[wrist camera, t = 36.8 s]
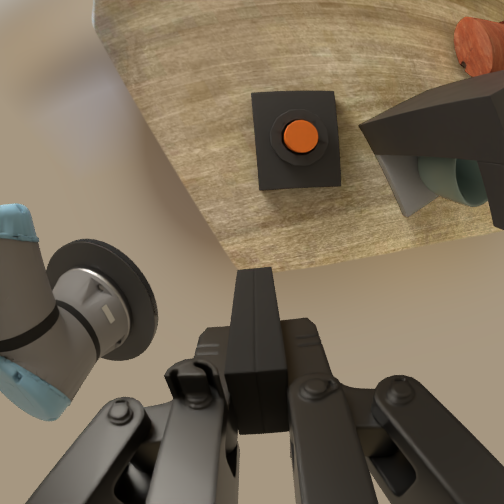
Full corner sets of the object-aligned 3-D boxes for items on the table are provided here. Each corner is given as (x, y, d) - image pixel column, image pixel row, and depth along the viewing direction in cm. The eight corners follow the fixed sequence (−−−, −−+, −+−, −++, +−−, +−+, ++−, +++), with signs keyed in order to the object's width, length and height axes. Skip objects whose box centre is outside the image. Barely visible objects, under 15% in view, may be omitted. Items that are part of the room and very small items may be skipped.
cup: (441, 132, 30) (486, 131, 20) (456, 183, 32) (501, 194, 22) (401, 148, 31) (445, 148, 22) (419, 201, 33) (462, 217, 24)
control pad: (259, 188, 35) (259, 192, 31) (251, 96, 31) (250, 89, 27) (336, 184, 34) (345, 187, 31) (329, 94, 31) (337, 87, 27)
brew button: (284, 153, 30) (286, 153, 28) (282, 122, 29) (283, 120, 27) (316, 152, 30) (319, 152, 28) (313, 121, 29) (317, 119, 27)
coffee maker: (464, 173, 33) (585, 204, 10) (402, 215, 35) (528, 285, 13) (428, 89, 29) (552, 61, 6) (358, 125, 32) (489, 95, 9)
